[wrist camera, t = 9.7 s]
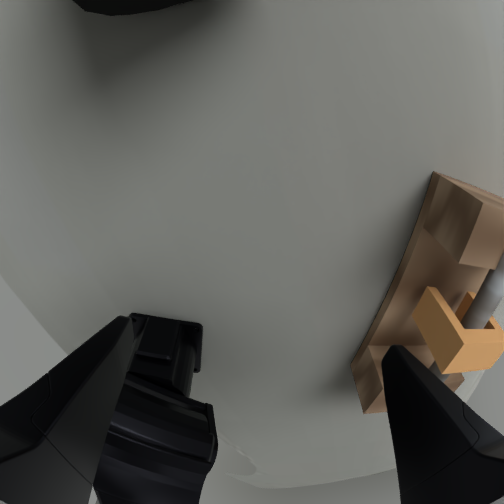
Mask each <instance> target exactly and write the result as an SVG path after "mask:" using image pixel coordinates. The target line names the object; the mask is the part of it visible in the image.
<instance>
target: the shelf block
mask: <svg viewBox="0 0 504 504" xmlns="http://www.w3.org/2000/svg"><path fill="white" fill-rule="evenodd" d="M427 286H429V287H436V288H437V289H438V291H439V292H440V294H441V295H442V297H443V298H444V299H445V301H446V302H447V304H448V305H449V307H450V308H451V310H452V311H453V313H454V314H455V312H456V311H457V309H458V307H459V305H460V304H461V302H462V300H463V298H464V297H465V295H466V293H467V291H469V292H474V293H475V294H476V296H475V298H474V300H473V301H472V303H471V305H470V307H469V308H468V310H467V312H466V313H465V315H464V317H463V318H462V320H461V322H460V323H461V325H462V326H463V328H464V329H484V327H485V325H486V324H487V322H488V321H489V319H490V318H491V316H492V314H493V313H494V311H495V309H496V308H497V306H498V304H499V303H500V301H501V299H502V297H503V296H504V199H503V198H501V197H499V196H497V195H494V194H492V193H489V192H487V191H485V190H482V189H480V188H477V187H475V186H472V185H470V184H467V183H465V182H462V181H459V180H457V179H454V178H451V177H448V176H446V175H443V174H440V173H437V172H434V171H433V174H432V178H431V181H430V184H429V187H428V190H427V193H426V196H425V200H424V202H423V205H422V208H421V211H420V214H419V217H418V220H417V222H416V225H415V228H414V231H413V233H412V236H411V238H410V241H409V244H408V246H407V249H406V251H405V254H404V256H403V258H402V261H401V263H400V266H399V268H398V270H397V273H396V275H395V277H394V279H393V282H392V284H391V286H390V288H389V291H388V293H387V295H386V297H385V299H384V301H383V303H382V306H381V308H380V310H379V312H378V314H377V316H376V318H375V320H374V322H373V324H372V326H371V328H370V330H369V332H368V333H367V335H366V337H365V339H364V341H363V343H362V345H361V347H360V349H359V350H358V352H357V354H356V356H355V358H354V359H353V361H352V363H351V365H350V366H351V369H352V373H353V376H354V380H355V384H356V387H357V391H358V395H359V398H360V402H361V406H362V410H363V413H364V414H368V413H379V412H387V408H386V402H385V396H384V386H383V377H382V368H381V362H382V359H383V357H384V355H385V354H386V352H387V351H388V349H389V347H390V346H391V345H393V344H400V345H403V346H404V347H405V348H406V349H407V350H408V351H410V352H411V353H412V354H413V355H414V356H415V357H416V358H417V359H418V360H419V361H421V362H422V363H423V364H424V365H425V366H426V367H427V368H428V369H429V370H430V371H431V372H432V373H434V374H435V375H436V376H437V377H438V378H439V379H440V380H441V381H442V382H443V383H444V384H445V385H447V386H448V387H449V388H450V389H451V390H452V391H453V392H455V390H456V389H457V388H458V387H459V386H460V385H461V383H462V382H463V381H464V380H465V379H464V377H463V375H462V373H461V372H460V373H450V374H441V372H440V370H439V368H438V366H437V364H436V361H435V359H434V357H433V355H432V353H431V351H430V349H429V347H428V345H427V343H426V342H425V340H424V338H423V336H422V334H421V332H420V330H419V328H418V326H417V324H416V323H415V321H414V319H413V317H412V314H413V312H414V310H415V308H416V306H417V305H418V303H419V301H420V299H421V297H422V295H423V293H424V291H425V289H426V287H427Z"/></svg>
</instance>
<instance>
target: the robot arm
mask: <svg viewBox="0 0 504 504" xmlns="http://www.w3.org/2000/svg"><path fill="white" fill-rule="evenodd" d="M134 318H135V319H134ZM195 328H198V329H195ZM202 335H203V326H202V325H201V324H200V323H195V322H188V321H181V320H174V319H168V318H162V317H155V316H150V315H144V314H138V313H131V314H130V316H129V317H125V316H118V317H116V318H115V319H114V320H113V321H111V322H110V323H109V324H107V325H106V326H105V327H104V328H102V329H101V330H100V331H99V332H97V333H96V334H95V335H93V336H92V337H91V338H90V339H88V340H87V341H86V342H85V343H83V344H82V345H81V346H80V347H78V348H77V349H76V350H75V351H73V352H72V353H71V354H70V355H68V356H67V357H66V358H65V359H63V360H62V361H61V362H60V363H58V364H57V365H56V366H55V367H53V368H52V369H51V370H50V371H49V372H48V373H46V374H45V375H44V376H42V377H41V378H40V379H39V380H37V381H36V382H35V383H33V384H32V385H31V386H30V387H28V388H27V389H25V390H24V391H23V392H21V393H20V394H18V395H17V396H15V397H14V398H12V399H11V400H9V401H8V402H6V403H4V404H3V405H2V406H0V504H88V502H89V498H90V493H91V490H92V486H93V487H94V490H95V492H96V495H97V501H96V504H199V499H200V495H201V490H202V487H203V484H204V481H205V478H206V475H207V474H208V472H209V471H210V470H211V468H212V467H213V464H214V462H215V459H216V456H217V451H218V439H217V433H216V426H215V419H214V413H213V406H212V405H211V404H208V403H202V402H199V401H196V400H193V399H191V398H189V396H190V390H191V383H192V377H193V372H194V373H198V372H200V368H201V351H202ZM381 368H382V377H383V386H384V396H385V402H386V408H387V413H388V418H389V423H390V429H391V435H392V440H393V446H394V453H395V459H396V466H397V473H398V481H399V489H400V494H401V495H400V499H401V504H504V436H503V435H502V434H501V433H499V432H498V431H497V430H496V429H495V428H493V427H492V426H491V425H490V424H488V423H487V422H486V421H485V420H484V419H482V418H481V417H480V416H479V415H477V414H476V413H475V412H474V411H473V410H472V409H471V408H470V407H469V406H468V405H467V404H466V403H465V402H463V401H462V400H461V399H460V398H459V397H458V396H457V395H456V394H455V393H454V392H453V391H452V390H451V389H450V388H449V387H448V386H447V385H445V384H444V383H443V382H442V381H441V380H440V379H439V378H438V377H437V376H436V375H435V374H434V373H432V372H431V371H430V370H429V369H428V368H427V367H426V366H425V365H424V364H423V363H422V362H421V361H419V360H418V359H417V358H416V357H415V356H414V355H413V354H412V353H411V352H410V351H408V350H407V349H406V348H405V347H404V346H403V345H400V344H393V345H391V346H390V347H389V349H388V351H387V352H386V354H385V355H384V357H383V359H382V362H381ZM92 484H93V485H92Z"/></svg>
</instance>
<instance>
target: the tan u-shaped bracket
mask: <svg viewBox="0 0 504 504" xmlns="http://www.w3.org/2000/svg"><path fill="white" fill-rule="evenodd" d="M475 296H476V294H475V293H474V292H469V291H467V293H466V295H465V297H464V298H463V300H462V302H461V304H460V305H459V307H458V309H457V311H456V312H455V314H454V313H453V311H452V310H451V308H450V307H449V305H448V304H447V302H446V301H445V299H444V298H443V297H442V295H441V294H440V292H439V291H438V289H437V288H436V287H429V286H427V287H426V289H425V291H424V293H423V295H422V297H421V299H420V301H419V303H418V305H417V306H416V308H415V310H414V312H413V314H412V317H413V319H414V321H415V323H416V324H417V326H418V328H419V330H420V332H421V334H422V336H423V338H424V340H425V342H426V343H427V345H428V347H429V349H430V351H431V353H432V355H433V357H434V359H435V361H436V364H437V366H438V368H439V370H440V372H441V374H450V373H460V372H468V371H477V370H484V369H490V368H491V367H492V366H493V364H494V363H495V362H496V361H497V359H498V358H499V357H500V355H501V354H502V352H503V351H504V331H503V330H502V328H501V327H500V326H499V324H498V323H497V321H496V320H495V319H494V317H493V316H491V318H490V319H489V321H488V322H487V324H486V325H485V327H484V329H464V328H463V326H462V325H461V323H460V322H461V320H462V318H463V317H464V315H465V313H466V312H467V310H468V308H469V307H470V305H471V303H472V301H473V300H474V298H475Z"/></svg>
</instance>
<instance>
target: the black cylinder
mask: <svg viewBox="0 0 504 504" xmlns="http://www.w3.org/2000/svg"><path fill="white" fill-rule="evenodd" d="M73 1H74V2H75V3H76V4H78V5H79V6H80V7H81V8H82V9H83V10H84V11H87V12H93V13H99V14H104V15H109V16H115V15H130V14H137V13H143V12H149V11H155V10H160V9H163V8H166V7H170V6H173V5H177V4H180V3H184V2H188V1H192V0H73Z"/></svg>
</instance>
